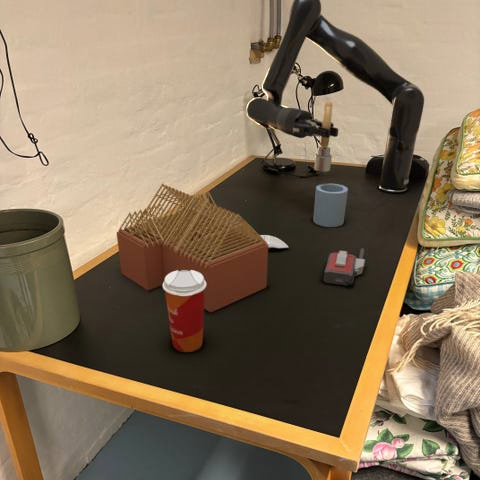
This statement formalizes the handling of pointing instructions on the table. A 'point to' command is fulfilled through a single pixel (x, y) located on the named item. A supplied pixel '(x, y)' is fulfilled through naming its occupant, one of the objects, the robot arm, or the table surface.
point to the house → (194, 248)
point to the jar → (330, 205)
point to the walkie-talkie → (343, 268)
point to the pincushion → (273, 241)
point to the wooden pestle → (324, 143)
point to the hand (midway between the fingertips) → (333, 133)
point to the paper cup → (185, 308)
